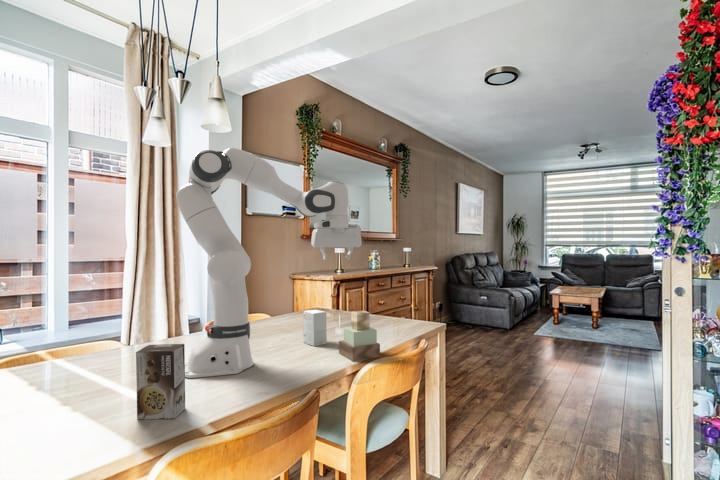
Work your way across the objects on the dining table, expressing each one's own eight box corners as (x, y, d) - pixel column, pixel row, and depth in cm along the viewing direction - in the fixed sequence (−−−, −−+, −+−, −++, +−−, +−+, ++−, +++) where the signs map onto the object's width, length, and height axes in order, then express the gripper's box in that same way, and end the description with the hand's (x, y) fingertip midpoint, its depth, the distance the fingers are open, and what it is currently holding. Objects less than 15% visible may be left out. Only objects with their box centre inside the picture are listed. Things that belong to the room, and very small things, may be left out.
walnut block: (352, 362, 135) (352, 348, 135) (339, 354, 144) (338, 341, 144) (380, 357, 140) (379, 343, 140) (365, 350, 149) (364, 337, 149)
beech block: (357, 330, 139) (356, 313, 139) (351, 327, 143) (351, 311, 143) (369, 329, 141) (369, 312, 141) (363, 326, 145) (363, 310, 145)
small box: (327, 343, 158) (326, 311, 158) (313, 346, 154) (313, 313, 154) (316, 340, 164) (315, 309, 164) (303, 342, 160) (302, 310, 160)
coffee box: (186, 407, 98) (186, 343, 98) (175, 419, 91) (174, 350, 91) (149, 408, 97) (149, 343, 97) (135, 420, 91) (135, 351, 91)
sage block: (353, 346, 136) (353, 332, 136) (343, 340, 144) (343, 327, 144) (376, 343, 140) (376, 329, 140) (365, 338, 148) (365, 325, 148)
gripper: (357, 224, 160) (357, 258, 159) (309, 223, 150) (309, 259, 150) (364, 224, 154) (364, 259, 154) (315, 222, 145) (315, 260, 145)
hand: (336, 259), depth 152 cm, fingers open, 8 cm apart
